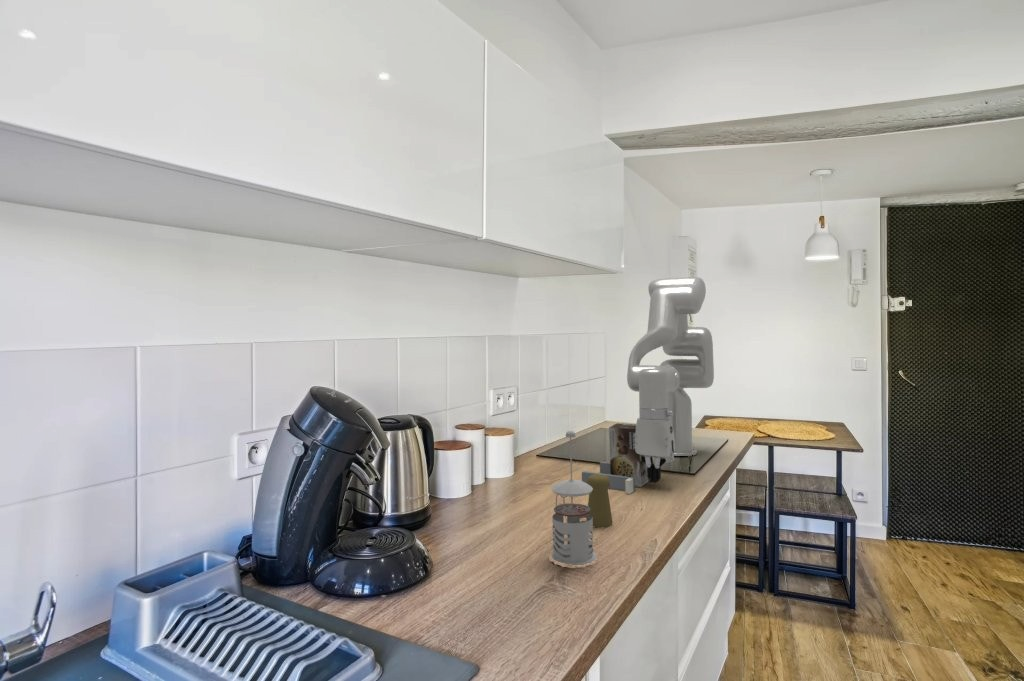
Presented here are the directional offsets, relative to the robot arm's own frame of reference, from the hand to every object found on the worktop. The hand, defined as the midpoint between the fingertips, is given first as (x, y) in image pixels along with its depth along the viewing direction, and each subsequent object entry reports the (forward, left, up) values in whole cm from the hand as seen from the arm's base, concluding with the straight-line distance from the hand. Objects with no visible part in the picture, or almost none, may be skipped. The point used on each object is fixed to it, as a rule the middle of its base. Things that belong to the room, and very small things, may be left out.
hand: (654, 481), depth 163 cm
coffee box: (-1, -8, -2) cm, 8 cm away
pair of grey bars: (0, -11, -2) cm, 11 cm away
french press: (+53, +1, -2) cm, 53 cm away
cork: (+33, -2, -2) cm, 33 cm away
